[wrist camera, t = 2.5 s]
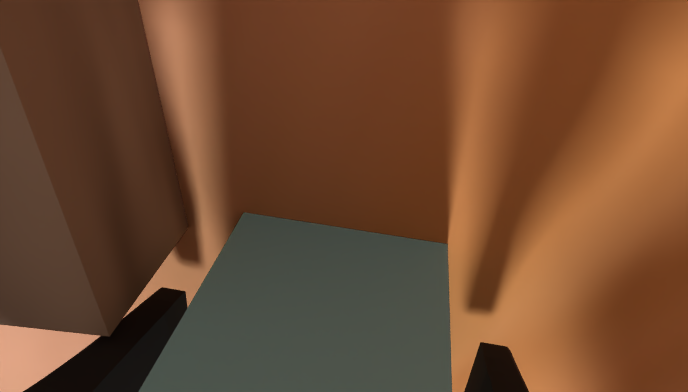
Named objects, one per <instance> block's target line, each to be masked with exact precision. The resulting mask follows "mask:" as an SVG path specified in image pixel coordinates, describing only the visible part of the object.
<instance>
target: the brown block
mask: <svg viewBox="0 0 688 392" xmlns="http://www.w3.org/2000/svg"><path fill="white" fill-rule="evenodd" d="M187 228H188V222H187V218H186V213H185V209H184V204H183V200H182V195H181V191H180V187H179V182H178V178H177V173H176V169H175V164H174V160H173V155H172V151H171V146H170V142H169V137H168V133H167V128H166V124H165V119H164V115H163V110H162V106H161V101H160V97H159V93H158V88H157V84H156V79H155V75H154V70H153V66H152V61H151V57H150V52H149V48H148V43H147V39H146V34H145V30H144V25H143V21H142V16H141V12H140V7H139V3H138V0H0V324H1V325H10V326H19V327H28V328H37V329H46V330H55V331H64V332H73V333H82V334H91V335H100V336H109V337H110V335H111V334H112V332H113V331H114V330H115V328H116V327H117V326H118V324H119V323H120V321H121V320H122V319H123V317H124V316H125V314H126V313H127V312H128V310H129V309H130V307H131V306H132V305H133V303H134V302H135V301H136V299H137V298H138V296H139V295H140V294H141V292H142V291H143V289H144V288H145V287H146V285H147V284H148V282H149V281H150V280H151V278H152V277H153V276H154V274H155V273H156V271H157V270H158V269H159V267H160V266H161V264H162V263H163V262H164V260H165V259H166V257H167V256H168V255H169V253H170V252H171V251H172V249H173V248H174V246H175V245H176V244H177V242H178V241H179V239H180V238H181V237H182V235H183V234H184V232H185V231H186V230H187Z"/></svg>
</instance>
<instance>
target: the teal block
mask: <svg viewBox="0 0 688 392" xmlns="http://www.w3.org/2000/svg"><path fill="white" fill-rule="evenodd" d="M139 392H452V375H451V341H450V307H449V273H448V244H444V243H438V242H431V241H425V240H418V239H412V238H406V237H399V236H393V235H386V234H380V233H373V232H367V231H361V230H354V229H348V228H341V227H335V226H329V225H322V224H316V223H309V222H303V221H296V220H290V219H284V218H277V217H271V216H264V215H258V214H252V213H245V212H244V213H243V215H242V216H241V218H240V220H239V221H238V223H237V225H236V226H235V228H234V230H233V232H232V233H231V235H230V237H229V238H228V240H227V242H226V243H225V245H224V247H223V249H222V250H221V252H220V254H219V255H218V257H217V259H216V261H215V262H214V264H213V266H212V267H211V269H210V271H209V272H208V274H207V276H206V278H205V279H204V281H203V283H202V284H201V286H200V288H199V289H198V291H197V293H196V295H195V296H194V298H193V300H192V301H191V303H190V305H189V307H188V308H187V310H186V312H185V313H184V315H183V317H182V318H181V320H180V322H179V324H178V325H177V327H176V329H175V330H174V332H173V334H172V335H171V337H170V339H169V341H168V342H167V344H166V346H165V347H164V349H163V351H162V353H161V354H160V356H159V358H158V359H157V361H156V363H155V364H154V366H153V368H152V370H151V371H150V373H149V375H148V376H147V378H146V380H145V381H144V383H143V385H142V387H141V388H140V390H139Z"/></svg>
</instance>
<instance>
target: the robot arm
mask: <svg viewBox="0 0 688 392" xmlns="http://www.w3.org/2000/svg"><path fill="white" fill-rule="evenodd" d="M186 310H187V300H186V292H185V291H180V290H174V289H169V288H163V287H162V288H160V289H159V290H158V291H156V292H155V293H154V294H153V295H151V296H150V297H149V298H148V299H146V300H145V301H144V302H143V303H141V304H140V305H139V306H138V307H137V308H135V309H134V310H133V311H132V312H130V313H129V314H128V315H127V316H126V317H124V318H123V319H122V320H121V321H120V323H119V324H118V326H117V327H116V328H115V330H114V331H113V332H112V334H111V335H110V337H109V336H100V337H99V338H98V339H96V340H95V341H94V342H93V343H91V344H90V345H89V346H87V347H86V348H85V349H83V350H82V351H81V352H79V353H78V354H77V355H75V356H74V357H73V358H71V359H70V360H68V361H67V362H66V363H64V364H63V365H61V366H60V367H59V368H57V369H56V370H54V371H53V372H52V373H50V374H49V375H47V376H46V377H44V378H43V379H42V380H40V381H39V382H37V383H36V384H34V385H33V386H31V387H30V388H28V389H26V390H25V391H23V392H139V390H140V388H141V387H142V385H143V383H144V381H145V380H146V378H147V376H148V375H149V373H150V371H151V370H152V368H153V366H154V364H155V363H156V361H157V359H158V358H159V356H160V354H161V353H162V351H163V349H164V347H165V346H166V344H167V342H168V341H169V339H170V337H171V335H172V334H173V332H174V330H175V329H176V327H177V325H178V324H179V322H180V320H181V318H182V317H183V315H184V313H185V312H186ZM464 392H529V391H528V389H527V387H526V384H525V382H524V380H523V378H522V376H521V374H520V372H519V369H518V367H517V365H516V363H515V360H514V358H513V356H512V353H511V351H510V350H509V348H508V347H506V346H500V345H494V344H488V343H482V342H480V346H479V349H478V352H477V355H476V358H475V361H474V364H473V367H472V370H471V373H470V376H469V379H468V382H467V385H466V388H465V391H464Z"/></svg>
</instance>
